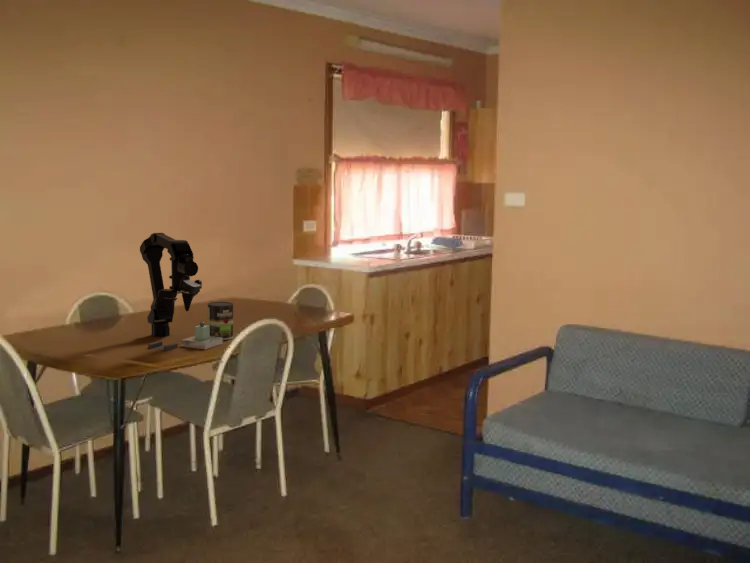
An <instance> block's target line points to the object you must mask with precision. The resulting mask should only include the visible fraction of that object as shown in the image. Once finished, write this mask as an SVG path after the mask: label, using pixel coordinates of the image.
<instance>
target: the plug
mask: <svg viewBox="0 0 750 563" xmlns="http://www.w3.org/2000/svg"><path fill="white" fill-rule="evenodd" d="M194 336H195V340H202V341H205V340H208V339H210V326H208V324H207V325H205V321H201V322H199V325H196V326H194Z"/></svg>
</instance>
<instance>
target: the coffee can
mask: <svg viewBox="0 0 750 563" xmlns="http://www.w3.org/2000/svg"><path fill="white" fill-rule="evenodd" d="M207 326H210V336H215V337H222V341H228V340H232V339H233V338H234V303H233V302H230V301H212V302H208V303H207Z"/></svg>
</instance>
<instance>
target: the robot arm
mask: <svg viewBox="0 0 750 563" xmlns="http://www.w3.org/2000/svg"><path fill="white" fill-rule="evenodd" d="M165 249H166V250H167V253H168V254H169V255H170V257H169V261H170V263H171V264H170V265H171V275H169V276H168V278H169V279H171V285H170V286H169V288H165V287H164V286H165V285H164V280H163V273H162V268H161V267H162V266H161V260H162V258H163V254H164V253H163V251H164V250H165ZM139 253H140V255H141V258H142V260H143V261H144V262H145V264H146V265H147V269H148V274H149V280H150V285H151V293H152V298H153V300H152V302H151V305H150V311H149V313H148V315H147V318H146V319H147V322H148V324H150V325H151V336H154V337H157V338H159V337H160V338H161V337H162V338H163V337H166V338H167V337H170V335H171V334H170V333H171V332H170V326H169V324H170V323H172V322H173V319H174V314H175V305H176V304H175V302H176V301H177V300H178V297H177V296H178V295H179V294H181V297H182V302H183V306H184V309H185V312H189V311H190V307H191V304H192V301H193V299H194V297H196V296H197V295H198V294H199V293H200V292H201V290H202V288H203V287H202V286H203V282H202V280H201V279H195V280H191V278H190V277H194V276H196V275H197V273H198V271H199V266H198V264H197V262H195V261H194V258H195V257H194V252H193V250H192V248H191V246H190V243H189V242H188V241H187V240H186V239H175V238H173V237H170V236H168V235H167V234H165V233H164V232H154V233H151V234H150V235H149V236H148V237H147V238H145V239H144V240H143V241H142V243H141V245H140V246H139Z"/></svg>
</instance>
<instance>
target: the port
mask: <svg viewBox="0 0 750 563" xmlns="http://www.w3.org/2000/svg"><path fill="white" fill-rule="evenodd" d="M220 345H223V340H222V337H215V336H210V339H208V340H205V341H202V340H195V335H193V336H190V337H187V338H183V339H181V347H185V348H191V349H199V350H208V349H212V348H215V347H217V346H220Z"/></svg>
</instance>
